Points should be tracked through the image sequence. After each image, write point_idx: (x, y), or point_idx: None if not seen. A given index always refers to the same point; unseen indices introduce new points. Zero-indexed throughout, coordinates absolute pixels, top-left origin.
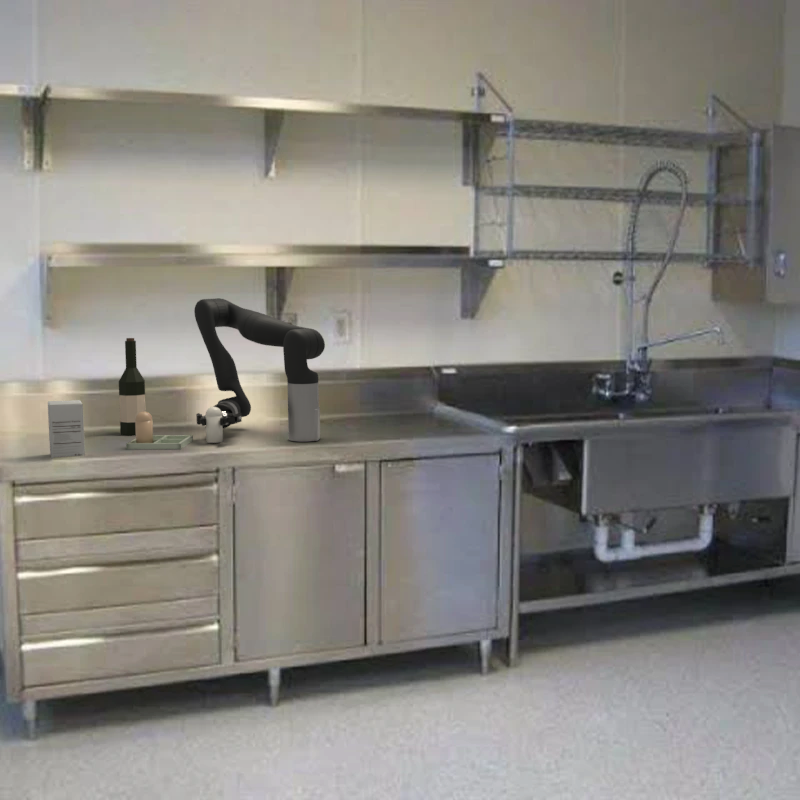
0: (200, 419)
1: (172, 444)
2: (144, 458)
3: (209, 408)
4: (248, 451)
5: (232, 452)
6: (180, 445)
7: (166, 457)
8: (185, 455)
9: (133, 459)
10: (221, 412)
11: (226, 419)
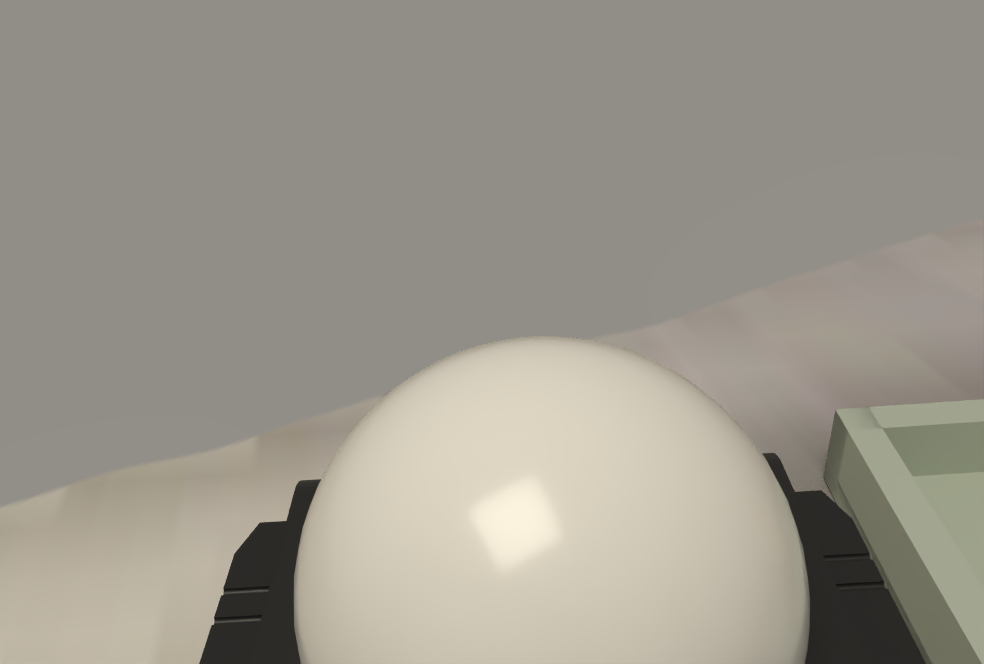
0: (823, 495)
1: (929, 411)
2: (913, 252)
3: (642, 356)
4: (90, 523)
5: (261, 470)
6: (834, 428)
7: (772, 285)
8: (662, 343)
9: (963, 229)
10: (302, 535)
11: (212, 661)
